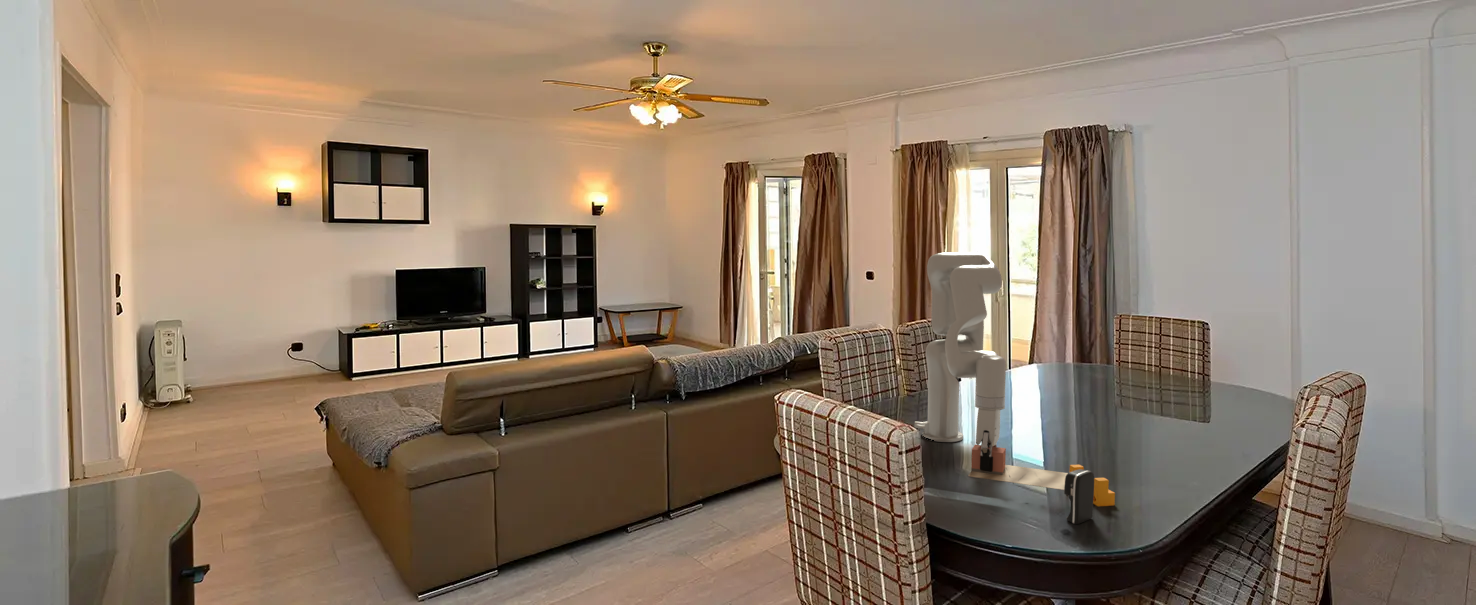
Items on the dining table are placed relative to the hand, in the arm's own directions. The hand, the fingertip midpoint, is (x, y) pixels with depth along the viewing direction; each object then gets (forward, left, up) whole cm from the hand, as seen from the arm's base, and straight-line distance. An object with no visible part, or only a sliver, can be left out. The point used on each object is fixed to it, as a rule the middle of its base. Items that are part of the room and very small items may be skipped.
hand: (988, 466), depth 197 cm
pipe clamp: (+25, -5, -3) cm, 26 cm away
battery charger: (+23, -22, -3) cm, 32 cm away
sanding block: (0, 0, -1) cm, 1 cm away
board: (+8, 0, -3) cm, 8 cm away
